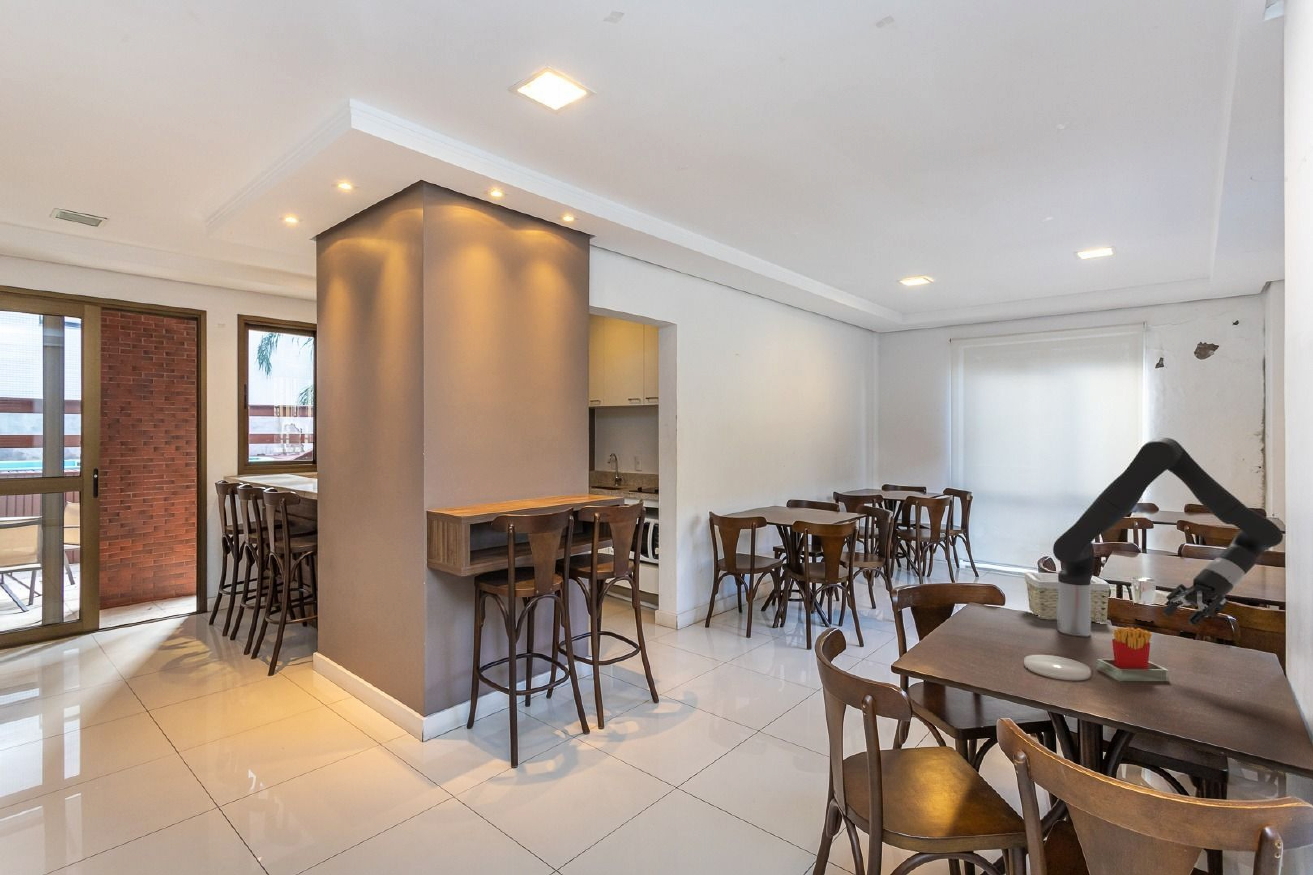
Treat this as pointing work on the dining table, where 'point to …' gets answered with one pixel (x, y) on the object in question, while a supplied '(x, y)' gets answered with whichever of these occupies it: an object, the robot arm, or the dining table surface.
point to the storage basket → (1046, 596)
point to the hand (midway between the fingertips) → (1177, 618)
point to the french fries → (1131, 648)
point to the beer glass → (1143, 590)
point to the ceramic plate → (1057, 667)
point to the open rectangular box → (1133, 672)
